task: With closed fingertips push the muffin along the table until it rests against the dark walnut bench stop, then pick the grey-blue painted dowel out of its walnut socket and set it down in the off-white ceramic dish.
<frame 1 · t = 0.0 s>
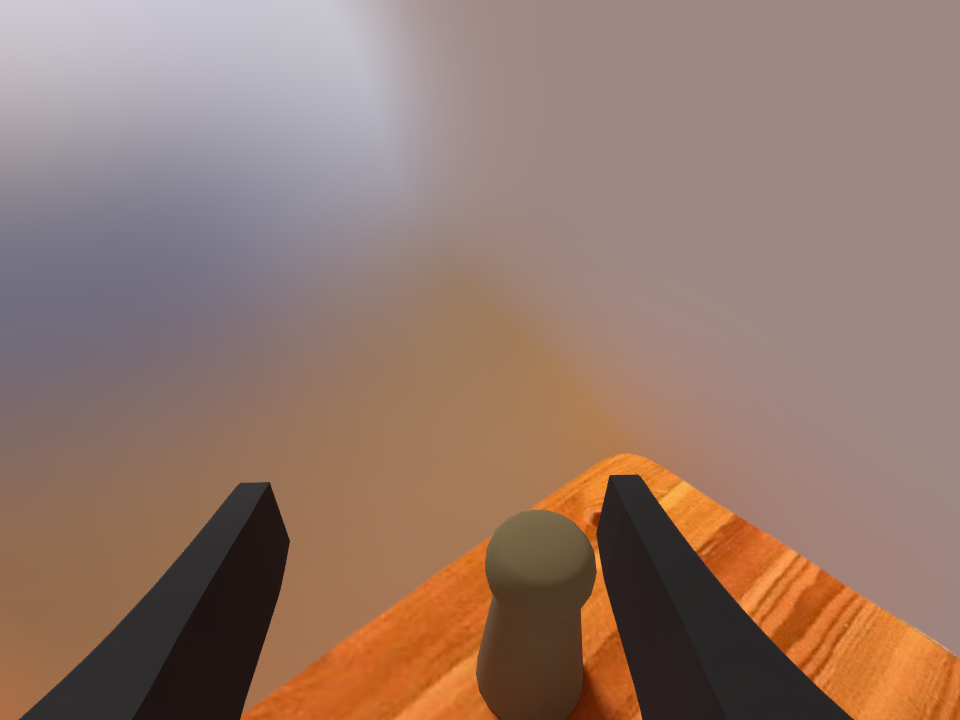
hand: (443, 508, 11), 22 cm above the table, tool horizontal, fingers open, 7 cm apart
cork: (529, 672, 30), on the table
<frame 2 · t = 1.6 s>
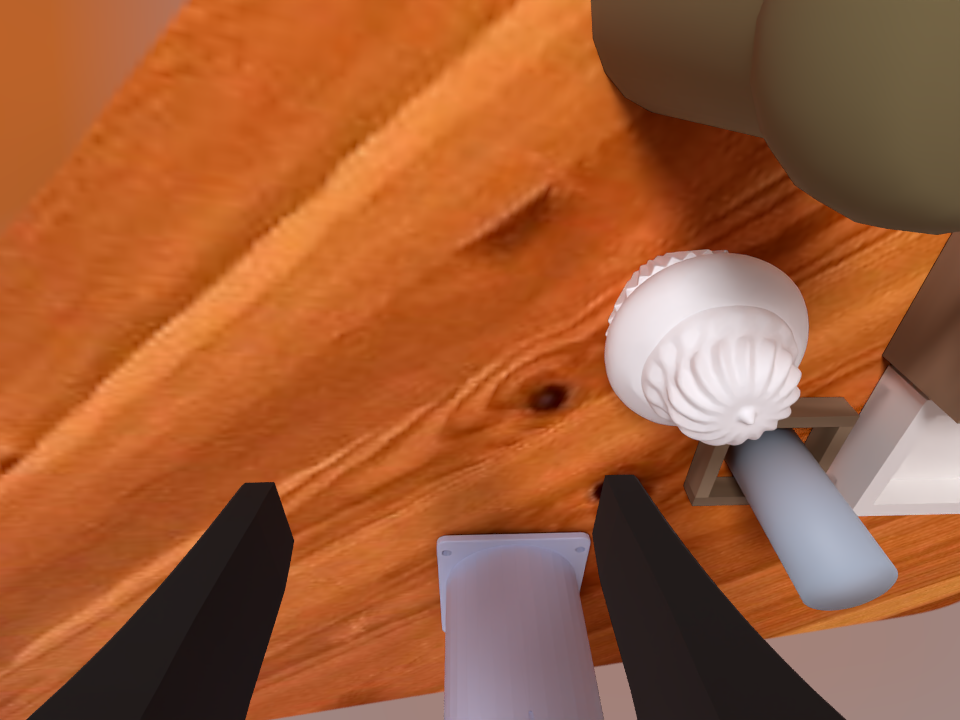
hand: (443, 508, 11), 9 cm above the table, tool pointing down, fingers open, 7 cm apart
dish: (927, 425, 24), on the table
bench stop: (958, 289, 20), on the table
muffin: (665, 289, 19), on the table
dowel: (757, 444, 24), resting in socket
socket: (757, 444, 24), on the table
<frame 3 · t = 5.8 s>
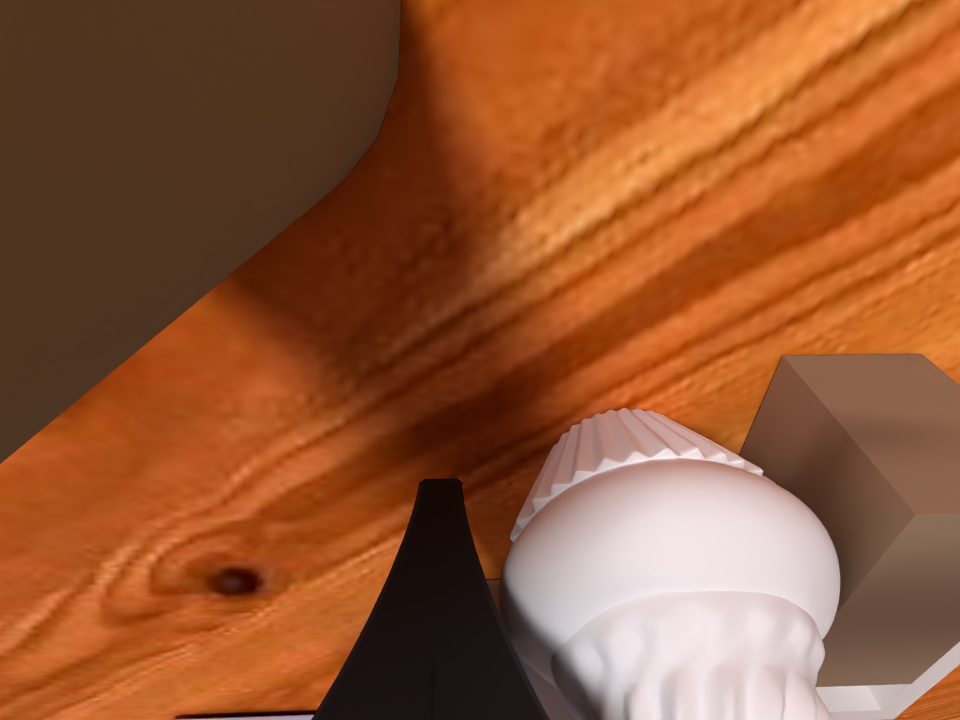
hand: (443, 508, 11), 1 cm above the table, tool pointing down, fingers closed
dish: (795, 602, 17), on the table
bench stop: (799, 454, 13), on the table
muffin: (614, 450, 13), on the table, touching bench stop, gripper
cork: (184, 5, 7), on the table
dowel: (562, 625, 17), resting in socket
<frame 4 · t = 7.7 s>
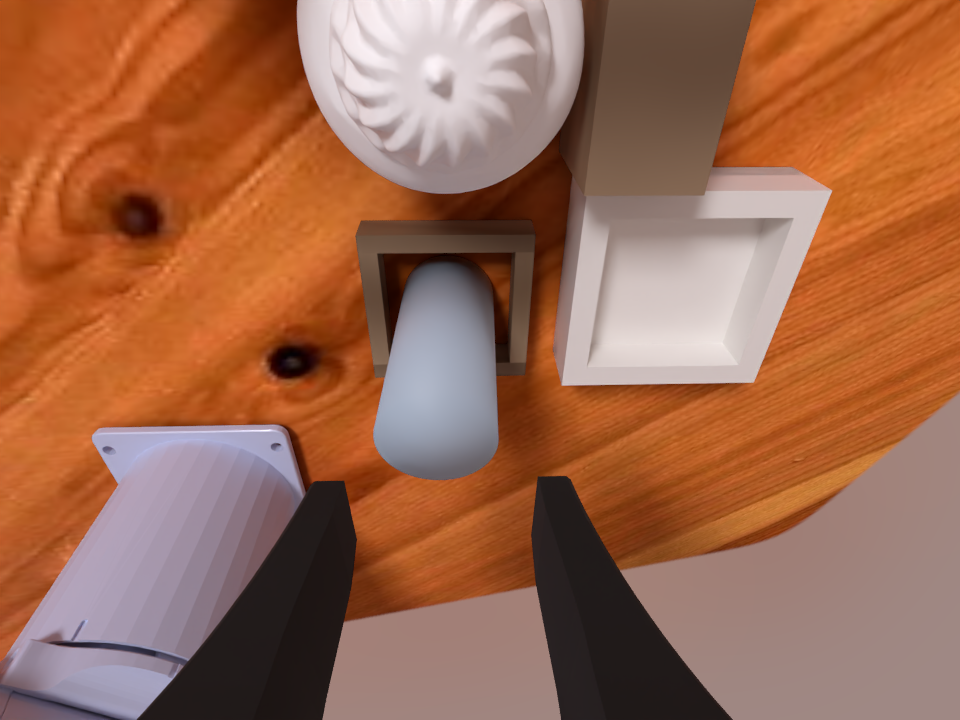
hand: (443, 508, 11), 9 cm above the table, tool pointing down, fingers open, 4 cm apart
dish: (660, 268, 19), on the table
bench stop: (624, 36, 14), on the table
muffin: (446, 34, 14), on the table
dowel: (448, 295, 19), resting in socket
socket: (448, 294, 19), on the table
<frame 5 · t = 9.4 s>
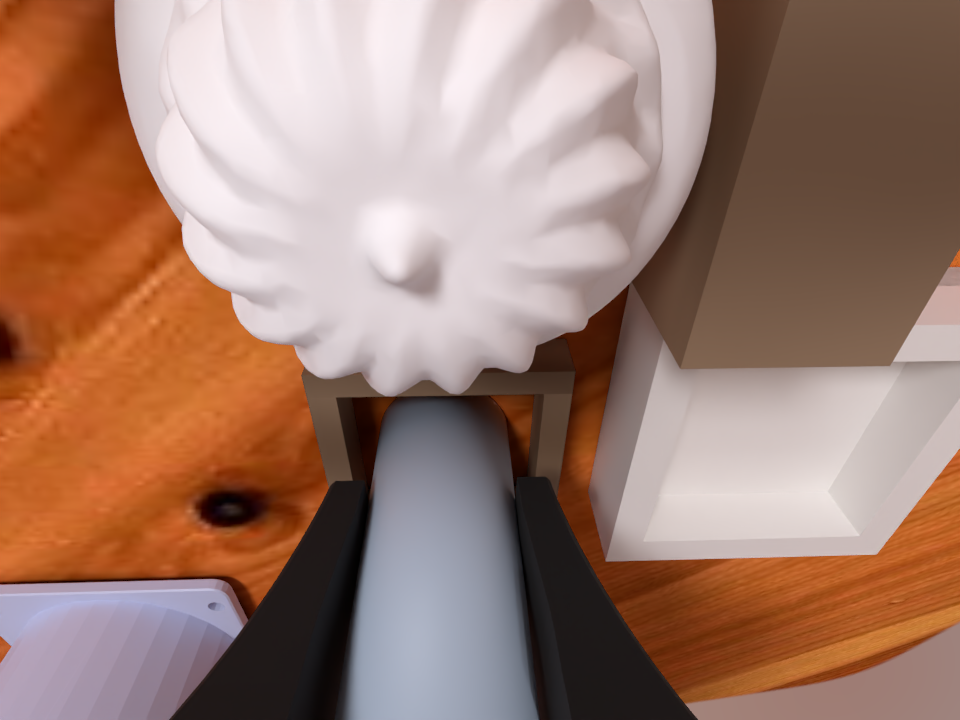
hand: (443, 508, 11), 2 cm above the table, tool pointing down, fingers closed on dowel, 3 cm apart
dish: (746, 396, 13), on the table
bench stop: (729, 79, 9), on the table
muffin: (439, 75, 9), on the table
dowel: (444, 431, 13), resting in socket, touching gripper
socket: (445, 431, 13), on the table
when the fingers open (5 cm above the table, at t = 12.0 s): dowel drops 1 cm, resting on dish.
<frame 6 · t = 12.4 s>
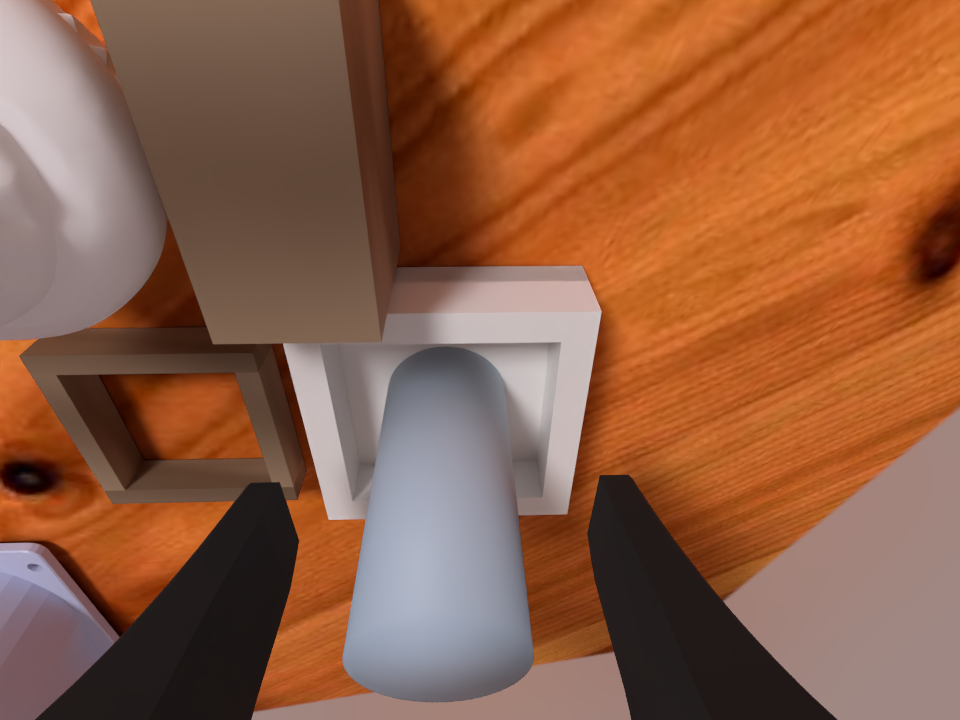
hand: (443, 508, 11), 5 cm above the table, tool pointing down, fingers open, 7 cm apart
dish: (446, 377, 15), on the table
bench stop: (316, 114, 11), on the table
muffin: (82, 110, 11), on the table
dowel: (446, 394, 15), point 1 cm above the table, touching dish
socket: (192, 407, 16), on the table
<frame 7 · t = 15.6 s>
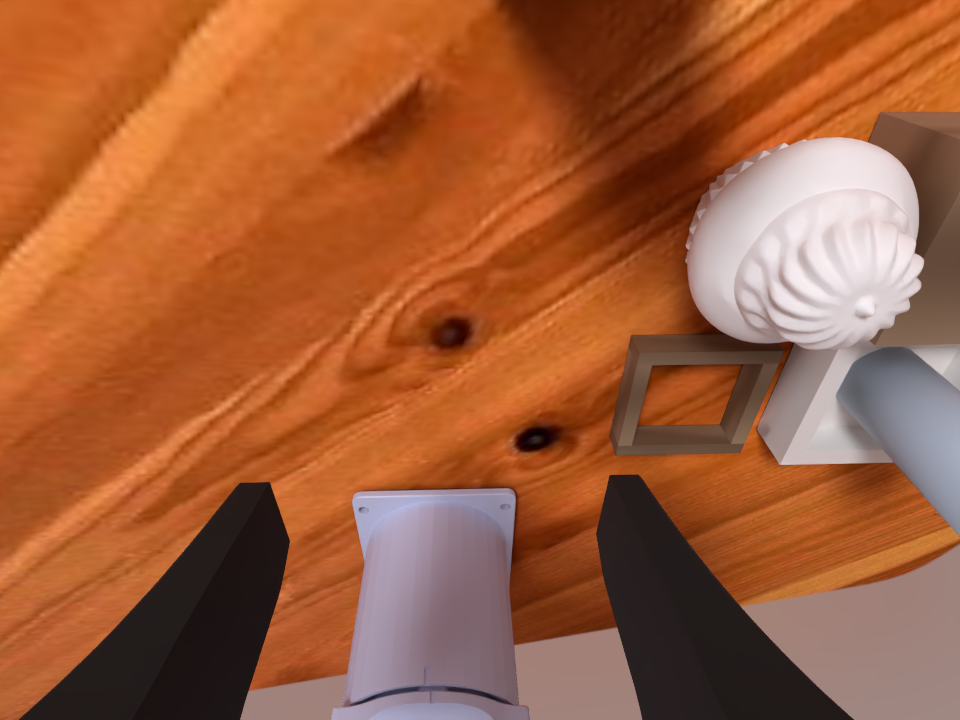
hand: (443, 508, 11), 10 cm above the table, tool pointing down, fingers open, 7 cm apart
dish: (863, 367, 22), on the table
bench stop: (883, 206, 18), on the table
muffin: (741, 204, 18), on the table
dowel: (876, 378, 22), point 1 cm above the table, touching dish
socket: (684, 388, 23), on the table
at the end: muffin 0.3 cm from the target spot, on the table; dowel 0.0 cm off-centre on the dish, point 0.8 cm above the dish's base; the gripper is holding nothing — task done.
